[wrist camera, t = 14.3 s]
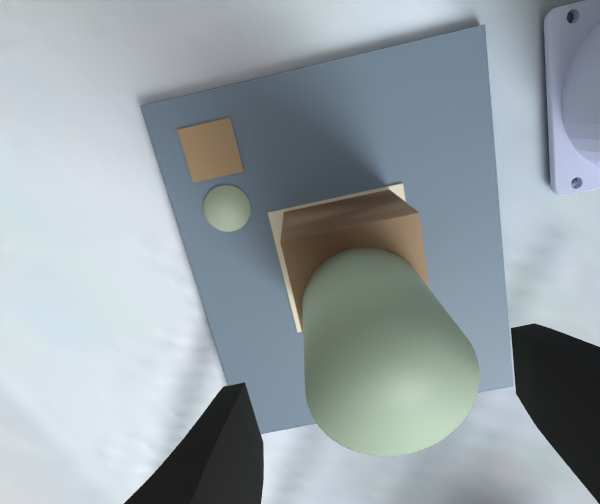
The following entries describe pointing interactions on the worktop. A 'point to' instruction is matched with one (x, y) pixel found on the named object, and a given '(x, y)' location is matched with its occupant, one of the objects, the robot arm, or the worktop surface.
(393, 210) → the walnut block
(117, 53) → the worktop surface
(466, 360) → the sage drum
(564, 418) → the robot arm
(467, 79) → the board
